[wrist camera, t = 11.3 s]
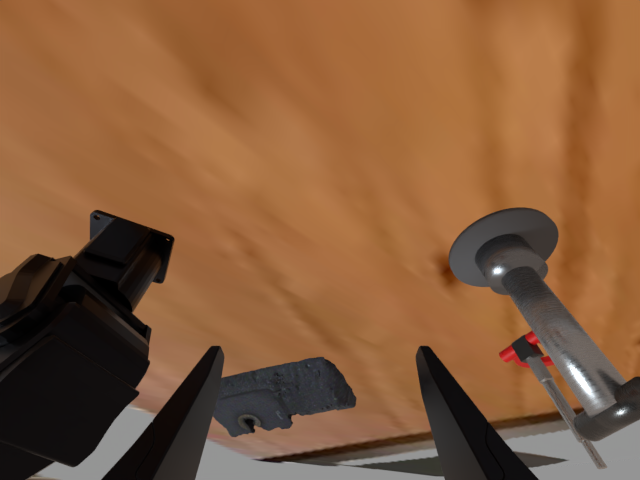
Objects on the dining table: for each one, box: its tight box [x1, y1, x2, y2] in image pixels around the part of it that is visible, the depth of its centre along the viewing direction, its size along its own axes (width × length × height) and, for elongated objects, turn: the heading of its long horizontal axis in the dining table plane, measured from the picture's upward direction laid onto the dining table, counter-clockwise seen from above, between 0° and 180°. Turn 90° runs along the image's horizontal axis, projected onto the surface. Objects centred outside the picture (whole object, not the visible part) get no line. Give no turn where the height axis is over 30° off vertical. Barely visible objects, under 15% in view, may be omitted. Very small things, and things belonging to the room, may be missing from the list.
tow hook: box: [499, 331, 607, 469], centre depth 32 cm, size 8×13×9 cm
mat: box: [449, 207, 559, 287], centre depth 26 cm, size 9×9×1 cm
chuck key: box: [475, 234, 640, 442], centre depth 21 cm, size 4×6×14 cm
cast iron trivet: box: [213, 357, 357, 437], centre depth 43 cm, size 15×22×5 cm
